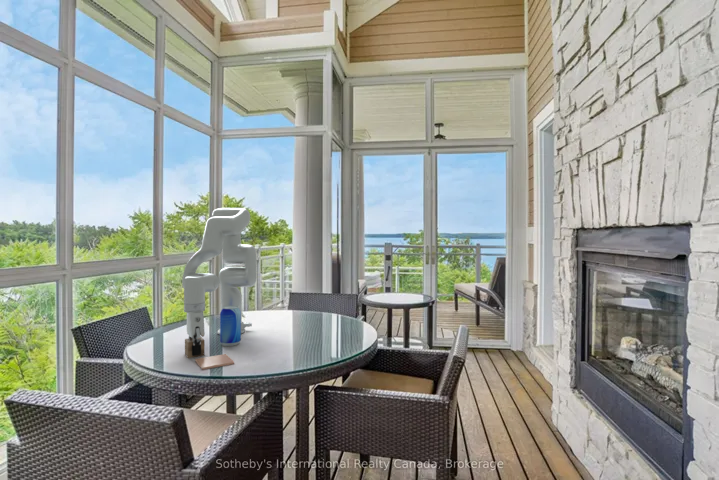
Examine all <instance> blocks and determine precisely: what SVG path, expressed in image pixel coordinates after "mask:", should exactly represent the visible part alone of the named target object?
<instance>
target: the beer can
mask: <svg viewBox="0 0 719 480" xmlns="http://www.w3.org/2000/svg"><path fill="white" fill-rule="evenodd" d="M219 329H220V335H219V338H220V339H219V343H220V344H221V345H222V346H224V347H233V346H237V345H239V344H240V342H241V340H242V333H241V311H240V310H239V308H238V306H225V307H223V309H222V311H221V310H220V314H219Z"/></svg>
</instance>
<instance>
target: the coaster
mask: <svg viewBox="0 0 719 480" xmlns="http://www.w3.org/2000/svg"><path fill="white" fill-rule="evenodd" d="M195 363H196V364H197V365H198V367H199V368H200V370H203V371H204V370H209V369H214V368H219V367H225V366H226V367H227V366H229V365H235V361H234V360H233V359H232V358H231V357H230V356H228V355H227V354H226V353H223V354H217V355H211V356H206V357H205V356H204V357H199V358H195Z"/></svg>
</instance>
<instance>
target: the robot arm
mask: <svg viewBox="0 0 719 480" xmlns="http://www.w3.org/2000/svg"><path fill="white" fill-rule="evenodd" d="M250 221H251V214H250V211H249V210H248V209H247V208H245V207H220V208H216V209H214V210H212V214H211V217H210V218H208V219H207V220H206V223H205V227H204V232H203V236H202V241H201V246H200V249H199V250H198V251H196V252H195V253H194V254H193V255H192V256H191V257H190V259H189V260H187V263H186V264H185V266H184V269H183V270H184V271H183V274H182V281H181V283H182V287H183V295H184V296H183V299H184V300H183V312H184V313H185V314H186V332H187V333H186V334H187V335H188V338H192V340H193V345H192V356H196V355H201V337H202V338H204V337H205V333H206V332H205V319H204V318H205V316H204V312H205V311H206V307H205V306H206V293H212V292H214V291H216V290H217V289H218V288H220V312H221V311H222V309H223V307H225V306H238V308H239V310H240V311H241V334H244V333H245V332H246V328H249V327H252V325H253V323H252V322H243V321H242V319H243V316H242V314H243V312H242V311H243V306H242V305H243V302H242V300H243V295H242V292H241V291H240V289H239V288H251V287H254V286H255V285H256V283H257V276H258V274H257V272H258V271H257V269H258V268H257V264H258V259H257V258H258V256H257V250H256V248H255V247H254V245H252V244H243V243H242V240H241V239H242V234H241V233H242V232H243V230H244V229H246V227H247V226H248V225H249V223H250ZM221 254H222V255H221ZM219 255H221V256H222V260H223V263H225V264H228V265H244V266H227V267H223V268H222V269H221V270H219V274H218V275H217V274H215V273H205V272H201V273H199V272H197V269H198V268H199V266H201V265H202V264H204V263H205V262H206V261H208V260H211V259H212V258H216V257H217V256H219ZM196 272H197V273H196ZM219 286H220V287H219ZM217 334H218V335H219V336H220V328H219V329H218V330H217ZM195 339H196V340H195Z"/></svg>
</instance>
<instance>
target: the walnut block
mask: <svg viewBox="0 0 719 480" xmlns="http://www.w3.org/2000/svg"><path fill="white" fill-rule="evenodd" d="M195 340H196V339H195ZM192 345H193V340H192V338H189V337H188V338H184V355H185V356H186V358H187V359H191V358H196V357H197V358H198V357H203V356H204V357H205V355H206V354H205V346H206V345H205V339H204V337H202V336H201V355H196V356H192Z"/></svg>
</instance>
